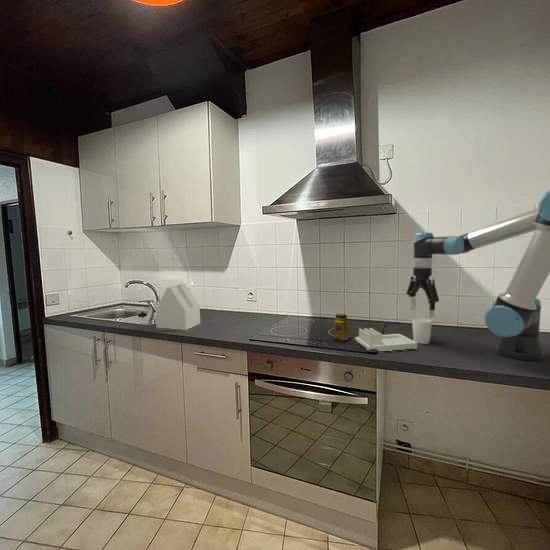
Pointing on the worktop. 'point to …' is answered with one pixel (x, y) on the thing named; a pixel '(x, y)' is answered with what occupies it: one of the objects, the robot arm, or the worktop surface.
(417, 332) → the white cup
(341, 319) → the condiment
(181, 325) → the white house-shaped block
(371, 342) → the dish rack
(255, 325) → the worktop surface
